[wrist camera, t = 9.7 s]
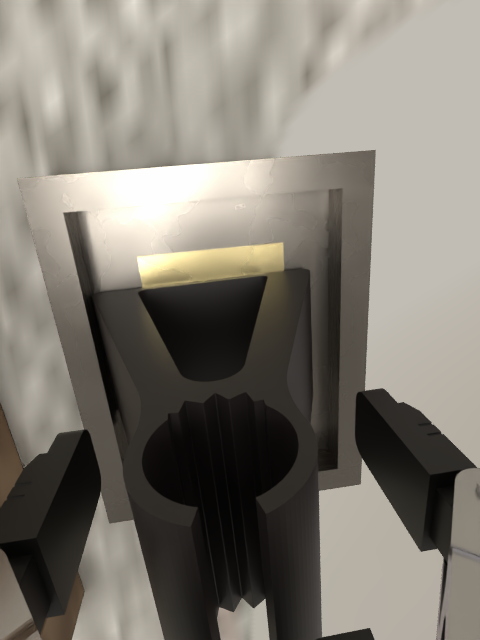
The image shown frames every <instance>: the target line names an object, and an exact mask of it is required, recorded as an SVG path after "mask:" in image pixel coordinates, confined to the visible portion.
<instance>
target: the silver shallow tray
mask: <svg viewBox="0 0 480 640" xmlns="http://www.w3.org/2000/svg"><path fill="white" fill-rule="evenodd" d="M374 171H375V150H371V151H358V152H345V153H333V154H320V155H307V156H296V157H282V158H269V159H257V160H244V161H231V162H219V163H206V164H193V165H181V166H168V167H155V168H143V169H130V170H117V171H105V172H92V173H79V174H67V175H54V176H42V177H29V178H17V180H18V184H19V188H20V191H21V195H22V199H23V203H24V206H25V210H26V214H27V217H28V221H29V225H30V229H31V232H32V236H33V240H34V244H35V247H36V251H37V255H38V258H39V262H40V266H41V270H42V273H43V277H44V281H45V285H46V288H47V292H48V296H49V299H50V303H51V307H52V311H53V314H54V318H55V322H56V326H57V329H58V333H59V337H60V340H61V344H62V348H63V352H64V355H65V359H66V363H67V367H68V370H69V374H70V378H71V381H72V385H73V389H74V393H75V396H76V400H77V404H78V408H79V411H80V415H81V419H82V422H83V426H84V430H88V431H89V433H90V435H91V439H92V443H93V446H94V450H95V454H96V458H97V461H98V465H99V469H100V473H101V493H102V497H103V501H104V504H105V508H106V512H107V516H108V519H109V523H115V522H122V521H128V520H134V518H133V514H132V510H131V506H130V502H129V498H128V494H127V490H126V486H125V482H124V478H123V461H124V457H125V453H126V451H127V448H128V446H129V441H128V438H127V435H126V432H125V429H124V427H123V424H122V420H121V416H120V412H119V408H118V404H117V400H116V396H115V391H114V387H113V383H112V379H111V375H110V371H109V366H108V362H107V358H106V354H105V350H104V346H103V342H102V337H101V333H100V329H99V325H98V321H97V317H96V313H95V308H94V304H93V300H92V295H94V294H97V293H102V292H110V291H118V290H127V289H135V288H144V287H152V286H161V285H169V284H178V283H186V282H195V281H199V282H204V281H207V280H212V279H220V278H229V277H237V276H246V275H254V274H263V273H271V272H280V271H288V270H296V269H308V270H310V288H311V327H312V367H313V402H312V413H311V426H312V428H313V430H314V432H315V435H316V439H317V446H318V486H319V491H320V490H326V489H333V488H339V487H346V486H352V485H359V484H361V464H362V463H361V462H362V457H361V455H360V453H359V451H358V448H357V445H356V441H355V408H356V395H357V393H358V392H360V391H365V374H366V352H367V351H366V350H367V329H368V307H369V285H370V284H369V283H370V262H371V261H370V260H371V240H372V218H373V195H374Z"/></svg>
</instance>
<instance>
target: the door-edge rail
mask: <svg viewBox="0 0 480 640" xmlns="http://www.w3.org/2000/svg"><path fill="white" fill-rule="evenodd" d="M22 471H23V467H22V464H21V461H20V459H19V456H18V453H17V450H16V447H15V444H14V442H13V439H12V436H11V433H10V430H9V427H8V425H7V422H6V419H5V416H4V413H3V410H2V407H1V405H0V508H1V506H2V505H3V503H4V501H6V500H7V496H8V494H9V493H10V491H11V489H12V488H13V487H15V483H16V481H17V479H18V477H19V476H20V474H21V472H22ZM83 595H84V589H83V586H82V583H81V580H80V577H79V574H78V571H77V575H76V578H75V581H74V585H73V588H72V592H71V595H70V598H69V602H68V605H67V608H66V612H65V615H60V616H55V617H49V618H46V619H45V622H44V625H43V628H42V631H41V634H40V637H41V639H42V640H72V636H73V633H74V629H75V625H76V621H77V618H78V614H79V610H80V606H81V603H82V599H83Z"/></svg>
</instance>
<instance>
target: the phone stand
mask: <svg viewBox="0 0 480 640" xmlns="http://www.w3.org/2000/svg"><path fill="white" fill-rule="evenodd" d="M92 300H93V304H94V308H95V313H96V317H97V321H98V325H99V329H100V333H101V337H102V342H103V346H104V350H105V354H106V358H107V362H108V366H109V371H110V375H111V379H112V383H113V387H114V391H115V396H116V400H117V404H118V408H119V412H120V416H121V420H122V424H123V427H124V429H125V432H126V435H127V438H128V441H129V446H128V448H127V451H126V453H125V457H124V461H123V478H124V482H125V486H126V490H127V494H128V498H129V502H130V506H131V510H132V514H133V518H134V522H135V526H136V529H137V533H138V537H139V541H140V545H141V549H142V553H143V557H144V561H145V565H146V569H147V573H148V576H149V580H150V584H151V588H152V592H153V596H154V600H155V604H156V608H157V612H158V616H159V620H160V624H161V627H162V631H163V635H164V639H165V640H220V634H219V628H218V622H217V615H218V610H219V607H221V608H224V609H226V610H229V611H232V612H234V611H235V609H236V607H237V605H238V604H239V602H240V600H241V598H243V599H244V600H245V601H246V602H247V603H248V604H249V605H250V606H251V607H253V608H255V607H256V606H257V605H258V604H259V603H261V602H262V601H263V600H264V599H265V598H266V606H267V617H268V628H269V638H270V640H316V639H317V638H322V626H321V625H322V624H321V581H320V580H321V579H320V532H319V486H318V446H317V439H316V435H315V432H314V430H313V428H312V426H311V413H312V402H313V367H312V327H311V288H310V270H308V269H296V270H288V271H280V272H271V273H263V274H254V275H246V276H237V277H229V278H220V279H212V280H207V281H204V282H199V281H195V282H186V283H178V284H169V285H161V286H152V287H144V288H135V289H127V290H118V291H110V292H102V293H97V294H94V295H92Z"/></svg>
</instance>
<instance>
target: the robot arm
mask: <svg viewBox="0 0 480 640" xmlns="http://www.w3.org/2000/svg"><path fill="white" fill-rule="evenodd" d="M355 441H356V445H357V448H358V451H359V453H360V455H361V457H362V459H363V460H364V462H365V463H366V465H367V466H368V468H369V470H370V471H371V473H372V474H373V476H374V478H375V479H376V481H377V482H378V484H379V486H380V487H381V489H382V490H383V492H384V494H385V495H386V497H387V498H388V500H389V502H390V503H391V505H392V506H393V508H394V509H395V511H396V513H397V514H398V516H399V518H400V519H401V521H402V522H403V524H404V526H405V527H406V529H407V530H408V532H409V533H410V535H411V537H412V538H413V540H414V541H415V543H416V545H417V546H418V548H419V549H420V551H421V552H422V551H427V550H433V549H438V550H439V551H440V553H441V554H442V556H443V557H444V559H443V566H442V577H441V589H440V602H439V613H438V625H437V638H436V640H480V468H477V467H476V466H475V465H474V464H473V463H472V462H471V461H470V460H469V459H468V458H467V457H466V456H465V455H464V454H463V453H462V452H461V451H460V450H459V449H458V448H457V447H456V446H455V445H454V444H453V443H452V442H451V441H450V440H449V439H448V438H447V437H446V436H445V435H444V434H441V431H440V430H439V429H438V428H437V427H436V426H434V425H432V424H431V421H429V420H428V419H427V418H426V417H425V416H424V415H423V414H422V413H421V412H420V411H419V410H417V409H415V408H413V407H411V406H410V405H408V404H405V403H404V402H402V403H397V402H396V401H395V400H394V399H393V398H392V397H391V396H390V394H389V393H388V392H387V391H386V390H385V389H375V390H368V391H360V392H358V393H357V395H356V408H355ZM100 492H101V473H100V469H99V465H98V461H97V458H96V454H95V450H94V446H93V443H92V439H91V435H90V433H89V431H88V430H78V431H71V432H64V433H59V434H58V435H57V436H56V438H55V440H54V442H53V444H52V445H51V447H50V449H49V451H48V453H45V454H39V455H38V456H37V457H36V458H35V459H34V460H33V461H31V462H30V463H29V464H28V465H27V466H26V467H25V468H24V469H23V471H22V472H21V474H20V476H19V477H18V479H17V481H16V483H15V487H13V488H12V489H11V491H10V493H9V494H8V496H7V500H6V501H4V503H3V505H2V506H1V508H0V640H42V639H41V637H40V634H41V631H42V628H43V625H44V622H45V619H46V618H49V617H55V616H60V615H65V612H66V608H67V605H68V602H69V598H70V595H71V592H72V588H73V585H74V581H75V578H76V575H77V571H78V568H79V564H80V561H81V558H82V554H83V551H84V547H85V544H86V541H87V537H88V534H89V530H90V527H91V524H92V520H93V517H94V513H95V510H96V507H97V503H98V500H99V497H100ZM316 640H374V637H373V635H372V633H371V630H370V628H367V629H362V630H358V631H352V632H347V633H342V634H337V635H332V636H327V637H322V638H317V639H316Z"/></svg>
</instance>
